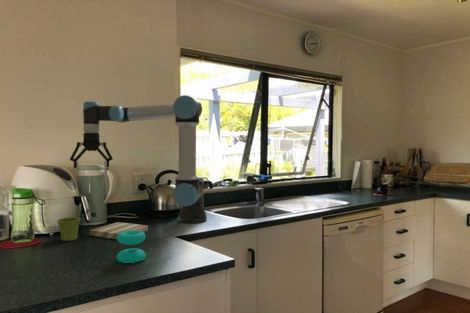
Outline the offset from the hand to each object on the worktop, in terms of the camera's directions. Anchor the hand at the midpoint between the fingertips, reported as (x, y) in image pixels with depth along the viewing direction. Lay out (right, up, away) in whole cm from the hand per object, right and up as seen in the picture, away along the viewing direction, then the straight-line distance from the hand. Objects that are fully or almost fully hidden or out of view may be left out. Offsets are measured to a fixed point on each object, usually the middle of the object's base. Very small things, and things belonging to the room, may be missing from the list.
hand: (91, 174), depth 193 cm
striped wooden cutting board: (+20, -27, -17) cm, 37 cm away
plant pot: (+1, -27, -29) cm, 39 cm away
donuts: (+36, -28, -57) cm, 73 cm away
